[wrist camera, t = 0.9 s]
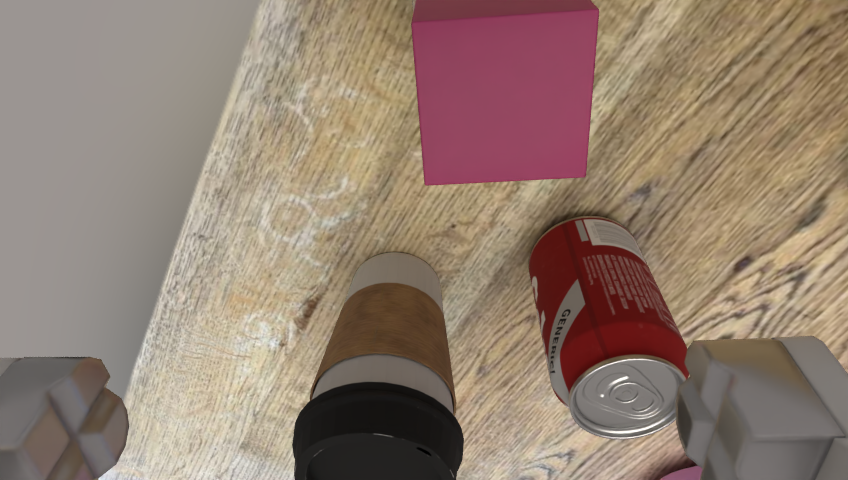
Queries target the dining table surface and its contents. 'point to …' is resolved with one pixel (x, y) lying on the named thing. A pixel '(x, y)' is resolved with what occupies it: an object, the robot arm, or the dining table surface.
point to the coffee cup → (383, 383)
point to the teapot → (685, 474)
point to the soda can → (606, 329)
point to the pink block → (504, 88)
